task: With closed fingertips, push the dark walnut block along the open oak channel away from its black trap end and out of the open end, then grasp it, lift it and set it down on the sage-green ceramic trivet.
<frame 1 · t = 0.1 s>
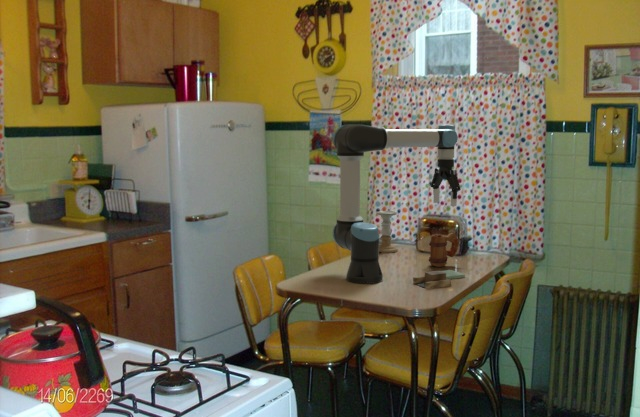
hand: (444, 204, 301), 28 cm above the table, fingers open, 13 cm apart
block: (435, 284, 265), on the table
trivet: (448, 275, 279), on the table
mug: (442, 266, 300), on the table
channel: (432, 284, 264), on the table
candle holder: (385, 251, 335), on the table
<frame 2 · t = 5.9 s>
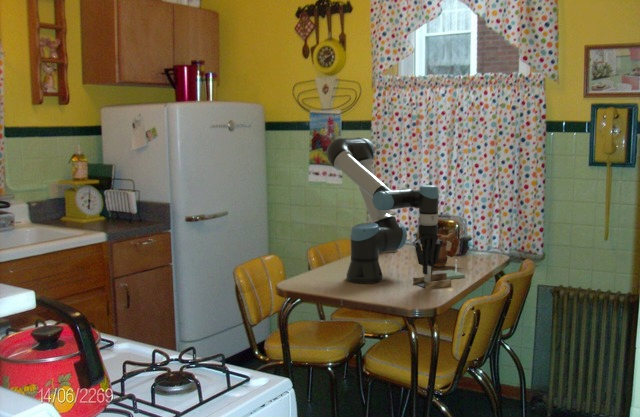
hand: (427, 281, 263), 2 cm above the table, fingers closed
block: (435, 284, 265), on the table, touching gripper
everything else where it was.
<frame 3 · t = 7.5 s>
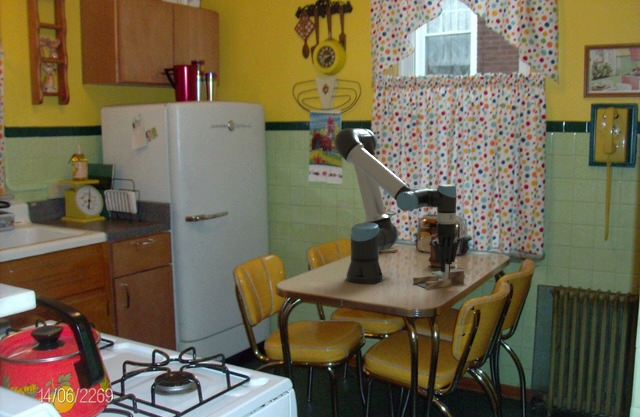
hand: (445, 279, 266), 2 cm above the table, fingers closed
block: (453, 282, 268), on the table, touching gripper
everything else where it was.
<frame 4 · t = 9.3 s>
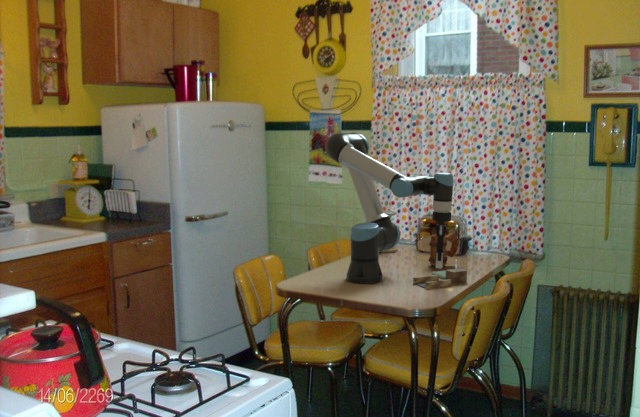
hand: (438, 267, 265), 6 cm above the table, fingers closed
block: (455, 282, 269), on the table
everything else where it was.
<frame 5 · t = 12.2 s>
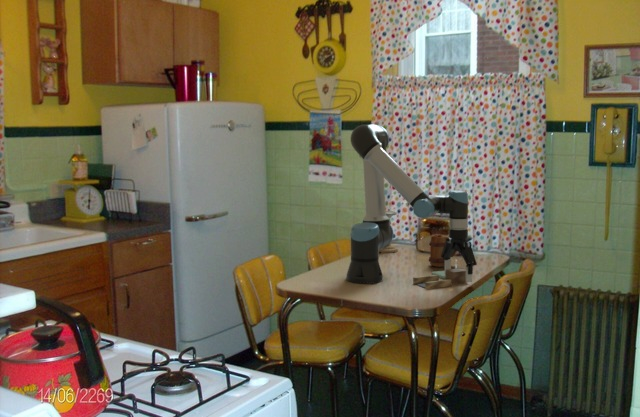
hand: (457, 279, 268), 1 cm above the table, fingers open, 14 cm apart
nothing on the table moved.
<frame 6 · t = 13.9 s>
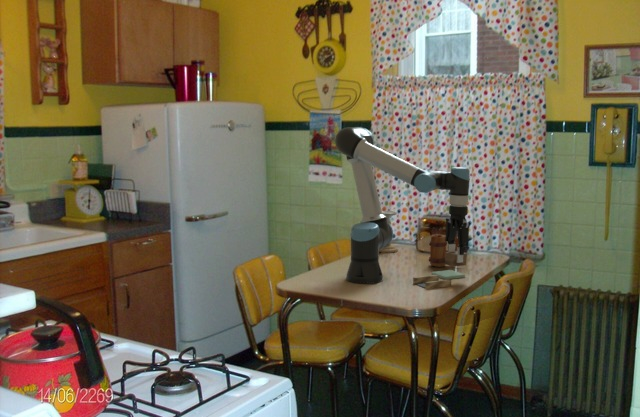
hand: (455, 260, 268), 9 cm above the table, fingers closed on block, 5 cm apart
block: (455, 264, 268), point 7 cm above the table, touching gripper
everything else where it was.
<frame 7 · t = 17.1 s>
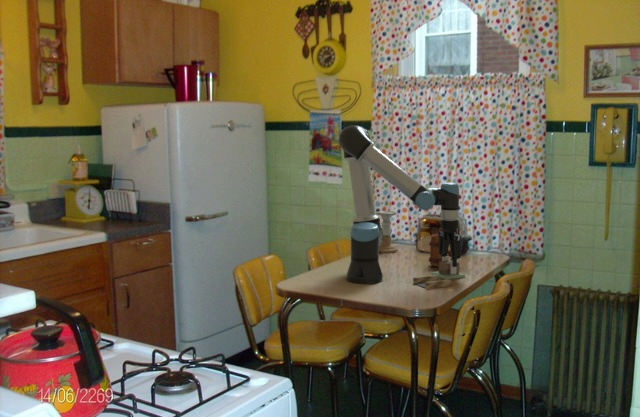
hand: (449, 272, 279), 1 cm above the table, fingers closed on block, trivet, 5 cm apart
block: (448, 273, 279), point 1 cm above the table, touching gripper, trivet
everything else where it was.
when the fingers open (1 cm above the table, at t = 17.4 s): block stays where it is, resting on trivet.
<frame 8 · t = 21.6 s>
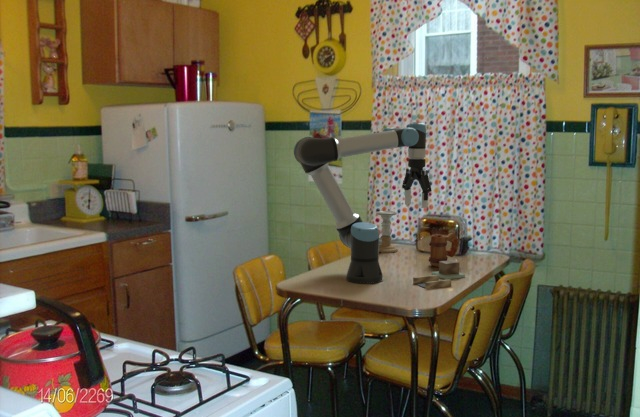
hand: (415, 206, 288), 29 cm above the table, fingers open, 13 cm apart
block: (448, 273, 279), point 1 cm above the table, touching trivet
everything else where it was.
at the end: block inside the target area on the trivet (0.4 cm from its centre), point 1.2 cm above the trivet's base; block tilted 0°; the gripper is holding nothing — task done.
